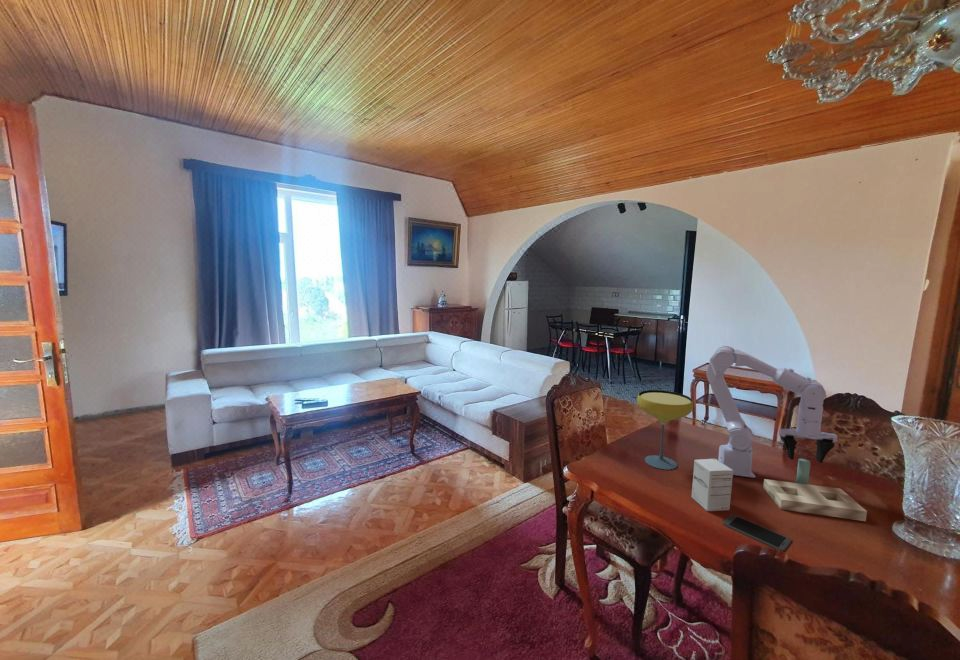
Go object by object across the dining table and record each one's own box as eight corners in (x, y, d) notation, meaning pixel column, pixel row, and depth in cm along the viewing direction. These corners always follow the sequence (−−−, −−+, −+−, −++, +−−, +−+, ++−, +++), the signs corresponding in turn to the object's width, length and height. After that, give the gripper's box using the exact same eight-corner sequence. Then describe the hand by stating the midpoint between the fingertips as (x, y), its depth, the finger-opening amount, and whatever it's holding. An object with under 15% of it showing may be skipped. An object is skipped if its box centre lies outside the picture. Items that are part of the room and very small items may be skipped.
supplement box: (690, 497, 117) (693, 458, 115) (713, 496, 118) (716, 457, 116) (706, 512, 110) (709, 470, 108) (730, 510, 110) (734, 469, 109)
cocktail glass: (635, 448, 151) (638, 387, 148) (686, 457, 144) (691, 393, 140) (632, 468, 135) (636, 401, 132) (690, 479, 127) (695, 408, 124)
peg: (798, 488, 122) (801, 462, 121) (793, 484, 125) (796, 458, 123) (809, 490, 121) (812, 463, 120) (804, 485, 124) (807, 459, 123)
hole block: (780, 508, 111) (781, 499, 111) (763, 487, 122) (764, 479, 122) (865, 521, 105) (867, 511, 105) (839, 497, 117) (840, 488, 116)
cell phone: (731, 515, 109) (731, 513, 109) (792, 541, 98) (792, 539, 98) (720, 525, 104) (721, 522, 104) (783, 554, 93) (783, 551, 93)
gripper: (788, 421, 118) (783, 462, 120) (845, 426, 114) (840, 468, 116) (777, 413, 125) (773, 452, 126) (831, 418, 121) (826, 458, 122)
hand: (804, 459), depth 122 cm, fingers open, 7 cm apart
